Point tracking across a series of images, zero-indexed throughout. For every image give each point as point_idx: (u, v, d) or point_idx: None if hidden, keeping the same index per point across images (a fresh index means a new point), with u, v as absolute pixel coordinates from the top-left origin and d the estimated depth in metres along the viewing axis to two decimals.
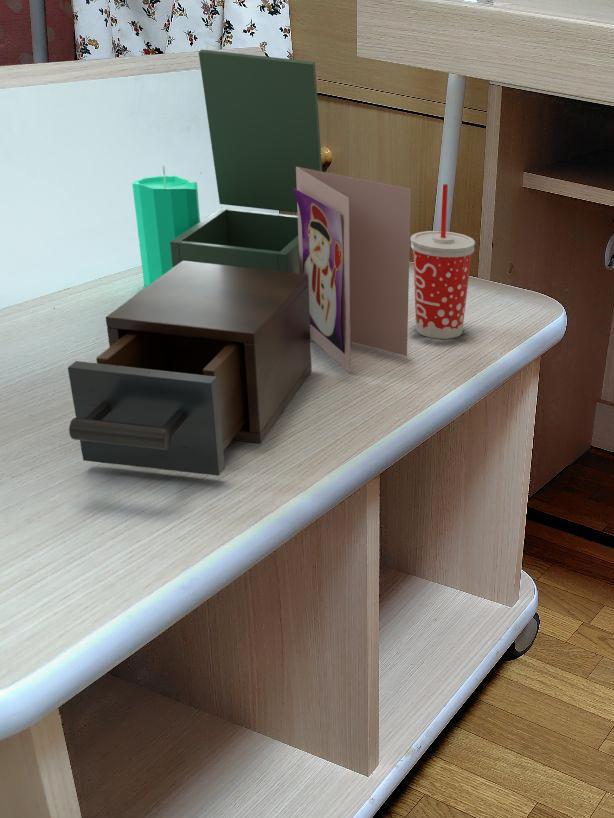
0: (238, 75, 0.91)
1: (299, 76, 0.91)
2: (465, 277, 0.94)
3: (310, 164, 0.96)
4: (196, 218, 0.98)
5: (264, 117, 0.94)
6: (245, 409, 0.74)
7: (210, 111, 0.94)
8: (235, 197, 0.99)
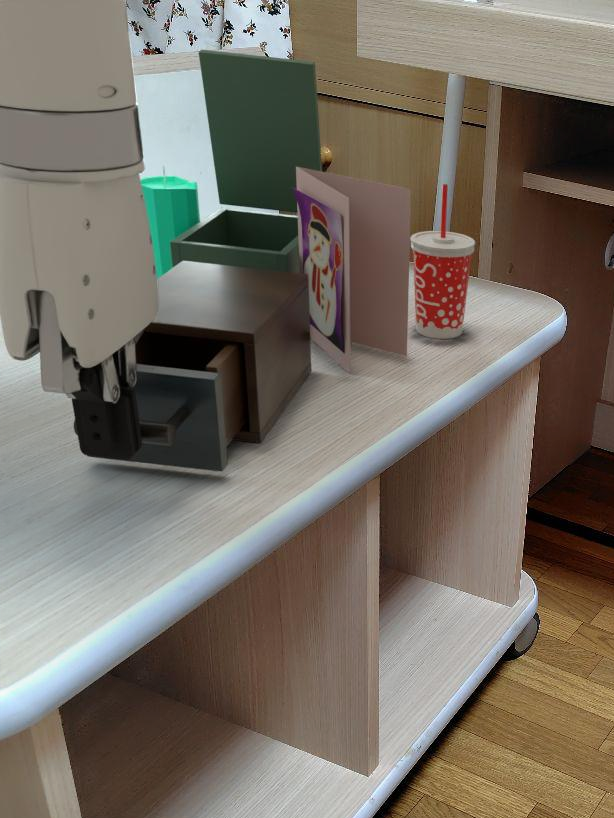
0: (238, 75, 0.91)
1: (299, 76, 0.91)
2: (465, 277, 0.94)
3: (310, 164, 0.96)
4: (196, 218, 0.98)
5: (264, 117, 0.94)
6: None
7: (210, 111, 0.94)
8: (235, 197, 0.99)
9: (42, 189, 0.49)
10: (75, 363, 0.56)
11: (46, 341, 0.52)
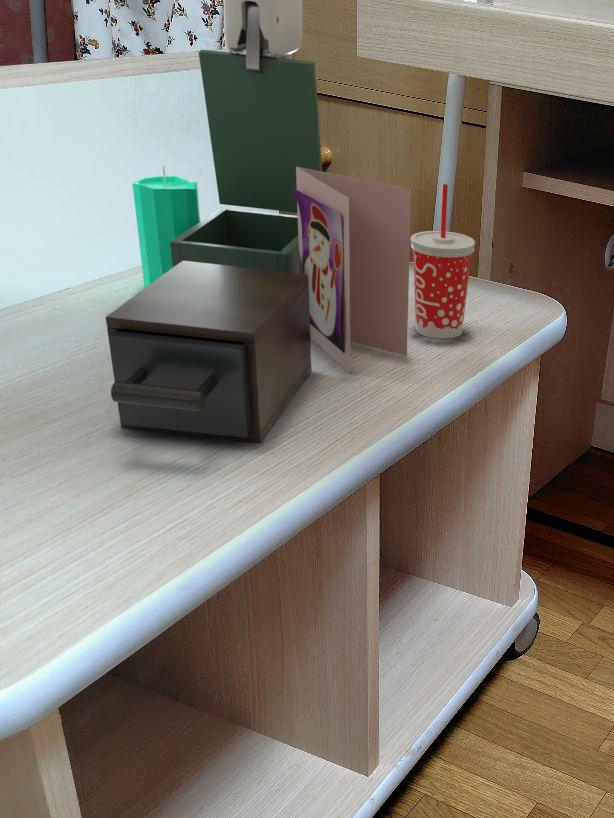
0: (238, 75, 0.91)
1: (299, 76, 0.91)
2: (465, 277, 0.94)
3: (310, 164, 0.96)
4: (196, 218, 0.98)
5: (264, 117, 0.94)
6: None
7: (210, 111, 0.94)
8: (235, 197, 0.99)
9: None
10: None
11: (250, 36, 0.89)
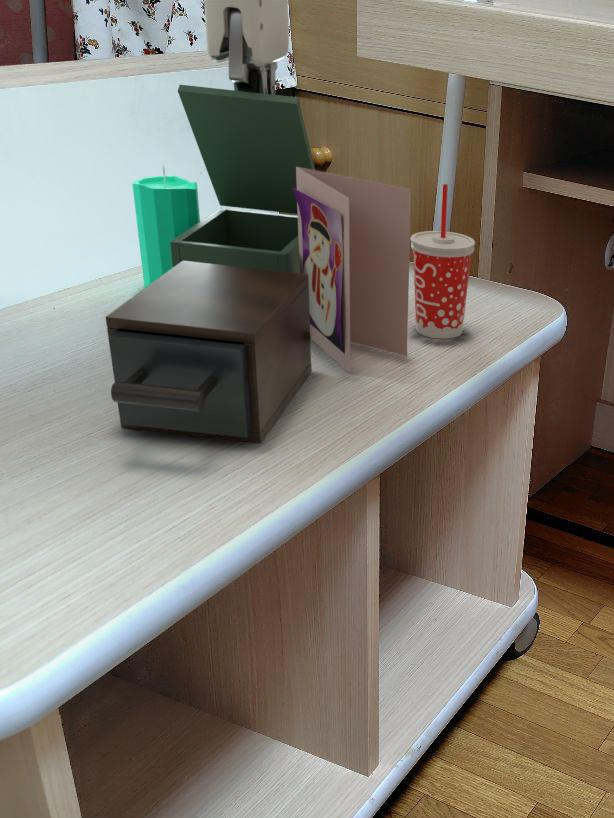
0: (222, 110, 0.88)
1: (284, 112, 0.88)
2: (465, 277, 0.94)
3: None
4: (196, 218, 0.98)
5: (253, 143, 0.92)
6: None
7: (198, 137, 0.92)
8: (234, 201, 0.99)
9: None
10: None
11: (233, 44, 0.85)
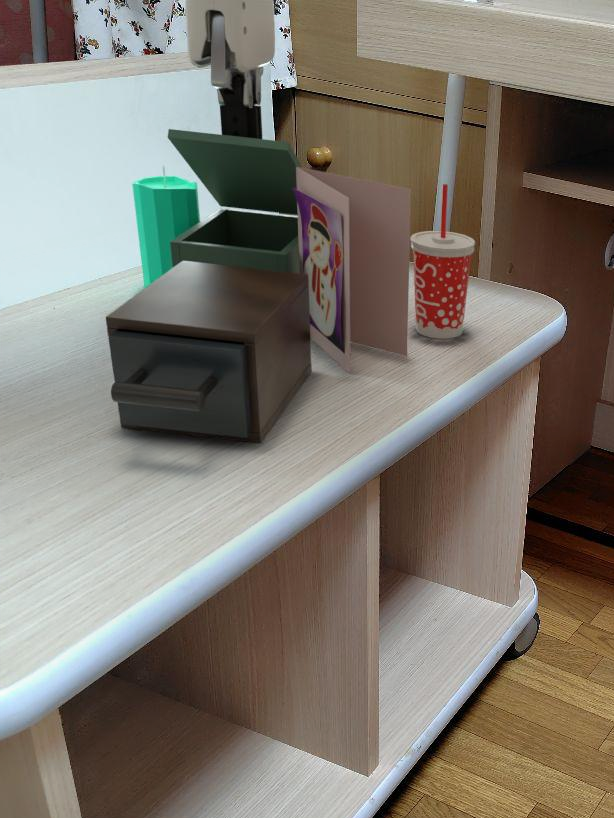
0: (213, 151, 0.88)
1: (276, 155, 0.87)
2: (465, 277, 0.94)
3: None
4: (196, 218, 0.98)
5: (248, 171, 0.91)
6: None
7: (192, 165, 0.91)
8: (234, 204, 0.99)
9: None
10: None
11: (215, 49, 0.81)
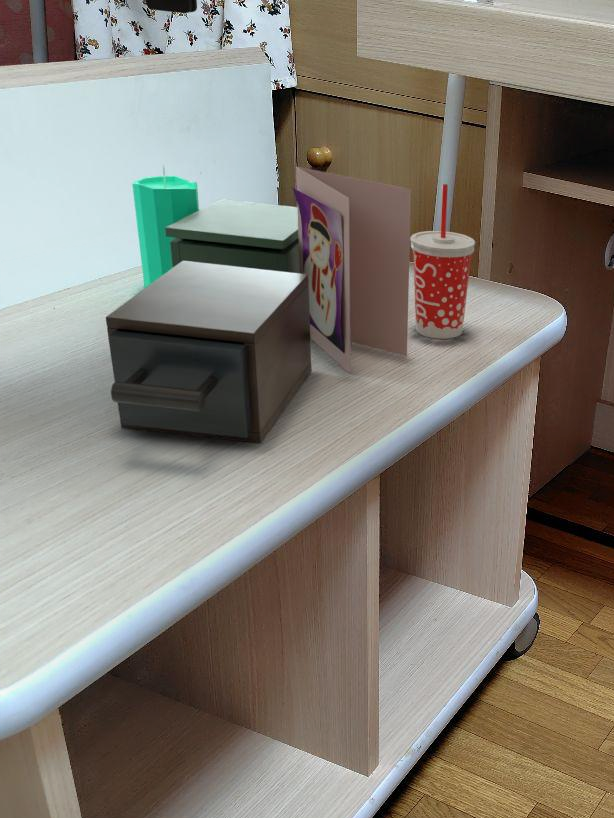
0: None
1: None
2: (465, 277, 0.94)
3: None
4: None
5: None
6: None
7: None
8: None
9: None
10: None
11: None
